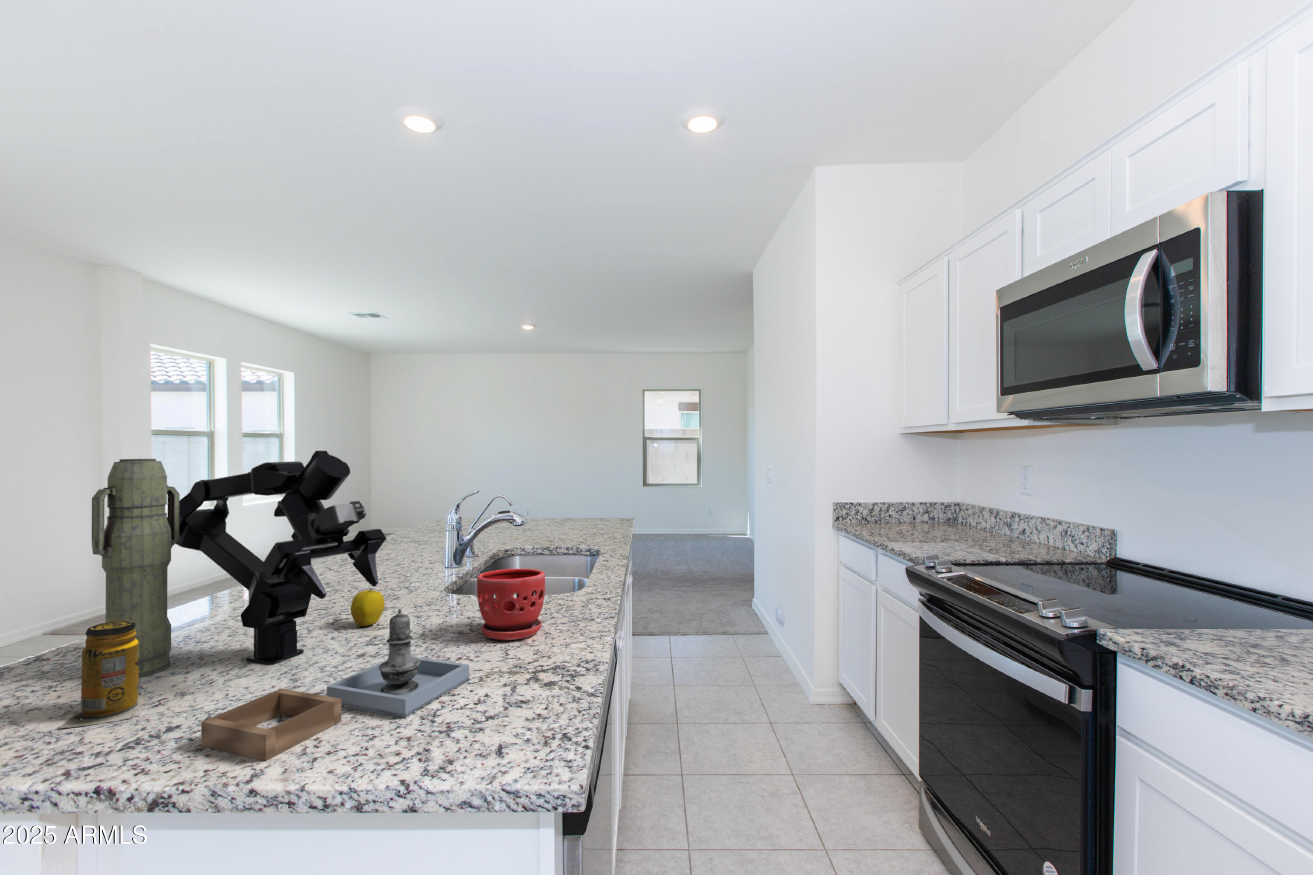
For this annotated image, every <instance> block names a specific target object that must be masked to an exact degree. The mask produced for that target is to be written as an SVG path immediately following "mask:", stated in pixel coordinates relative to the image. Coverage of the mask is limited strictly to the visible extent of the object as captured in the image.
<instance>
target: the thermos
mask: <svg viewBox="0 0 1313 875" xmlns="http://www.w3.org/2000/svg"><path fill="white" fill-rule="evenodd" d="M180 495H181V494H180V492H179V491H178V490H177V489H176V488H175V487H174V486H169V485H168V474H167V472H166V470H165V468H164V466H163V462H162V461H160V460H157V459H156V458H124V459H123V458H119V461H114V462H113V465H112V466H111V469H110V471H109V472H108V476H107V486H106V487H103V488H102V489H101V488H99V489H98V490H97V491H96V493H95V494H94V495H93V496H92V497H91V549H92V555H95V556H97V555H99V557H101V568H102V570H103V571H104V573H105V619H104V620H105V621H104V623H106V622H112V621H123V620H125V621H126V620H128V621H133V622H135V625H136V626H135V632H136V636H135V638H136V639H137V640H138V642H139V656H138V658H139V659H138V664H139V667H138V670H139V672H138V673H139V674H138V676H139V677H138V678H144V677H147V676H150V675H153V674H157V673H160V672H162V671H164V670H166V669H168V668H169V667H170V665H171V660H170V654H171V651H172V623H171V622H170V620H169V617H168V568H169V565H170V563H171V561H172V549H173V546H175V545H176V544H175V543H176V542H177V541H178V540H179V501H180V500H181V499H180ZM106 496H107V498H106ZM105 499H107V504H106V505H107V508H108V515H107V517H106V519H107V520H106V521H107V522H106V525H105ZM166 505H167V512H166ZM167 517H168V518H167Z"/></svg>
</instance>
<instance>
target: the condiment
mask: <svg viewBox="0 0 1313 875" xmlns="http://www.w3.org/2000/svg"><path fill="white" fill-rule="evenodd" d="M135 626H136V625H135V622H133V621H128V620H126V621H125V620H123V621H112V622H106V623H105V622H103V623H102V622H101V623H99V624H94V625H92V626H90V627H88V628H87V629H86V631H85V635H86V639H85V642H84V643H85V646H84V648H83V649H82V650H81V683H80V685H81V686H80V687H81V688H80V691H81V692H80V694H81V696H80V709H79V710H77V712H76V713H74V715H72V716H70V717H68V719H66V721H65V722H64V723H63V724H61V726H60V727H59V729H65V728H66V729H67V728H68V729H69V728H70V729H71V728H76V727H84V726H92V725H96V724H97V725H98V724H99V725H103V724H105V723H109V722H118V721H122V720H129V719H131V718H132V716H133V715H134V714H135V712H136V711H137V710H138V709H140V707H141V706H142V705H143V704H144V703H145V701H146V700H147V699H148V698H149V696H150V695H141V696H139V678H140V677H139V676H138V674H139V673H138V672H139V670H138V667H139V664H138V659H139V658H138V656H139V642H138V640H137V639H136V638H135V636H136V632H135Z"/></svg>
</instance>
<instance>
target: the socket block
mask: <svg viewBox="0 0 1313 875" xmlns="http://www.w3.org/2000/svg"><path fill="white" fill-rule="evenodd" d="M284 715H287V716H286V717H290V716H293V717H291V718H288V719H286V720H284V721H282V722H281V723H278V724H276V725H274V726H271V727H270V728H264V727H258V725H260V724H263V723H265V722H268V721H269V720H271V719H274V718H275V717H278V716H284ZM340 721H341V722H342V707H341V699H340V698H334V697H328V696H327V695H320V694H315V693H311V692H310V693H309V692H303V691H300V690H299V691H298V690H292V689H288V688H287V689H286V688H279V689H277V690H275V691H274V690H273V691H272V692H269V693H267V694H265V695H261V696H260V697H257V698H256V699H252V700H250V701H248V702H245V703H243V704H241V705H239V706H238V705H237V706H235V707H234V708H231V709H229V710H226V711H223V712H221V713H220V714H216V715H214V716H211V717H210V718H207V719H205V720H202V721H201V722H200V723H201V724H200V725H201V729H200V730H201V734H200V736H201V737H200V738H201V740H200V741H201V744H200V745H201V747H204V748H209V749H213V750H218V751H222V752H225V753H230V754H234V755H239V756H243V757H247V758H248V757H249V758H251V759H256V760H260V761H264V762H266V761H269V760H270V759H273V758H274V757H276V756H277V755H280V754H283V753H284V752H286V751H287V750H289V749H292V748H293V747H295V746H297V745H299V744H301V743H303V742H305V741H306V740H308V739H310V738H312V737H313V736H316V735H317V734H320V733H322V732H324V731H325V730H327V729H330V728H331V727H333V726H335V725H337V724H339V723H341V722H340Z"/></svg>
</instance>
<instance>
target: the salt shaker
mask: <svg viewBox="0 0 1313 875" xmlns="http://www.w3.org/2000/svg"><path fill="white" fill-rule="evenodd" d="M402 612H403V610H402V609H401V608H399V609H398V610H397V614H395V615H393V616H392V617H391V618H390V619H389V631H388V632H389V638H387V639H386V643H387V644H388V657H387V659H388V660H387V659H386V660H387V661H386V662H384V663H382V664H381V665H380V666H379V670H380V671H381V676H382V678H383V680H385V681H386V682H387V683H388V684H386V685H385V686H384V687H382V688H381V693H386V694H392V695H402V694H406V693H410V692H412V691H414V690H416V689H417V688H418V686H419V685H418V683H417V682H415V681H413V680H412V679H413V678H414V677H415V676H416V674H417V671H418V666H419V665H420V663H421V662H420V660H419V659H416V658H412V657H413V654H412V652H411V644H412V643H411V641H412V640H413V636H412V635H411V619H410V617H409V616H408V614H404V613H402Z"/></svg>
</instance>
